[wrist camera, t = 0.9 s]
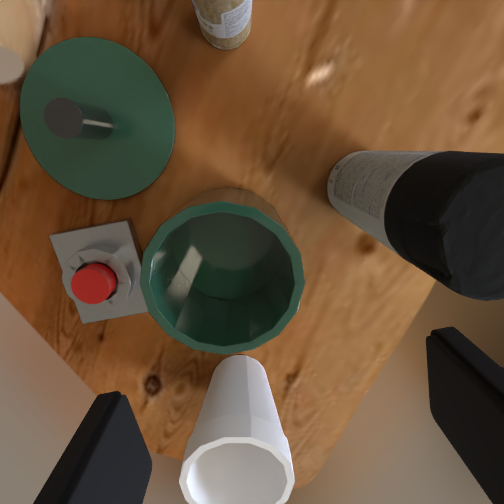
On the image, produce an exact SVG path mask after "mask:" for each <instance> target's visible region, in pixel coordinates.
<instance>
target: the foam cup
mask: <svg viewBox="0 0 504 504" xmlns="http://www.w3.org/2000/svg"><path fill="white" fill-rule="evenodd" d="M179 483H180V486H181V489H182V492H183V494H184V497H185V500H186V501H187V502H188V503H189V504H284V503H285V502H286V501H287V500H288V498H289V496H290V493H291V491H292V488H293V485H294V483H295V479H294V472H293V466H292V459H291V454H290V449H289V445H288V440H287V438H286V437H285V436H284V434H283V430H282V427H281V424H280V420H279V417H278V413H277V410H276V407H275V403H274V400H273V396H272V393H271V390H270V386H269V383H268V379H267V376H266V372H265V370H264V367H263V366H262V365H261V364H260V363H259V362H258V361H257V360H256V359H254V358H251V357H249V356H246V355H233V356H231V357H228V358H226V359H223V360H222V361H221V362H220V363H219V364H218V366H217V367H216V368H215V371H214V373H213V376H212V379H211V382H210V385H209V387H208V390H207V393H206V396H205V399H204V402H203V405H202V408H201V411H200V413H199V416H198V419H197V422H196V425H195V428H194V431H193V434H192V435H191V436H190V437H189V438H188V442H187V446H186V450H185V454H184V459H183V464H182V469H181V474H180V479H179Z"/></svg>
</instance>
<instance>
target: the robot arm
mask: <svg viewBox="0 0 504 504" xmlns="http://www.w3.org/2000/svg"><path fill="white" fill-rule="evenodd" d="M426 350H427V366H428V382H429V398H430V409H431V413H432V415H433V418H434V420H435V421H436V423H437V424H438V426H439V427H440V428H441V430H442V431H443V433H444V434H445V436H446V437H447V438H448V440H449V441H450V443H451V444H452V446H453V447H454V449H455V450H456V451H457V453H458V454H459V455H460V457H461V459H462V460H463V462H464V463H465V464H466V466H467V467H468V469H469V470H470V472H471V473H472V474H473V476H474V477H475V479H476V480H477V482H478V483H479V484H480V486H481V487H482V489H483V490H484V492H485V493H486V495H487V496H488V497H489V499H490V500H491V502H492V503H493V504H504V368H503V367H500V366H499V365H498V364H497V363H495V362H494V361H493V360H492V359H491V358H490V357H488V356H487V355H486V354H485V353H484V352H483V351H481V350H480V349H479V348H478V347H477V346H476V345H474V344H473V343H472V342H471V341H470V340H469V339H467V338H466V337H465V336H464V335H463V334H462V333H460V332H459V331H458V330H457V329H456V328H454V327H446V328H441V329H436V330H432V331H431V336H427V338H426ZM151 471H152V460H151V457H150V455H149V452H148V449H147V447H146V444H145V442H144V439H143V436H142V434H141V431H140V429H139V426H138V424H137V421H136V419H135V416H134V414H133V411H132V409H131V406H130V404H129V401H128V398H127V397H126V395H121V393H120V392H119V391H114V392H109V393H104V394H100V395H98V396H97V397H96V399H95V401H94V402H93V404H92V406H91V407H90V409H89V411H88V412H87V414H86V416H85V417H84V419H83V421H82V422H81V424H80V426H79V427H78V429H77V431H76V432H75V434H74V436H73V438H72V439H71V441H70V443H69V444H68V446H67V448H66V449H65V451H64V453H63V454H62V456H61V458H60V460H59V461H58V463H57V465H56V466H55V468H54V469H53V471H52V473H51V474H50V476H49V478H48V480H47V481H46V483H45V485H44V486H43V488H42V490H41V491H40V493H39V495H38V496H37V498H36V500H35V501H34V503H33V504H142V503H143V499H144V496H145V493H146V489H147V486H148V482H149V479H150V475H151Z"/></svg>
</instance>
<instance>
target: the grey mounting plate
mask: <svg viewBox="0 0 504 504" xmlns="http://www.w3.org/2000/svg"><path fill="white" fill-rule="evenodd" d="M49 237H50V240H51V242H52V245H53V248H54V250H55V253H56V255H57V258H58V261H59V263H60V266H61V268H62V271H63V274H62V282H63V285H64V287H65V290H66V292H67V295H68V296H69V297H70V298H72V299H73V300H74V302H75V305H76V307H77V310H78V313H79V315H80V318H81V320H82V323H83V324H84V323H90V322H95V321H101V320H106V319H112V318H118V317H123V316H129V315H134V314H140V313H145V312H148V309H147V306H146V303H145V299H144V296H143V293H142V290H141V287H140V275H141V267H142V258H143V257H142V253H141V250H140V247H139V243H138V240H137V237H136V233H135V230H134V227H133V224H132V220H131V218H129V219H124V220H119V221H114V222H108V223H103V224H98V225H93V226H88V227H82V228H77V229H72V230H67V231H62V232H56V233H54V234H51V235H49ZM91 263H100V264H103V265H105V266H107V267H108V268H110V269H111V270H112V272H113V273H114V275H115V277H116V287H115V289H114V291H113V292H112V293H111V294H110V295H109V296H108V297H107V298H106V299H105V300H104V301H103V302H101V303H98V304H87V303H84V302H82V301H80V300H79V299H78V298H77V297H76V296H75V295H74V294H73V292H72V289H71V280H72V277H73V276H74V274H75V273H77V272H78V271H79V270H80V269H82V268H83V267H85V266H86V265H88V264H91Z"/></svg>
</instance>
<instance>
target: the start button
mask: <svg viewBox="0 0 504 504" xmlns="http://www.w3.org/2000/svg"><path fill="white" fill-rule="evenodd" d="M115 287H116V277H115V275H114V273H113V272H112V270H111V269H110V268H108V267H107V266H105V265H103V264H100V263H91V264H88V265H86V266H85V267H83V268H82V269H80V270H79V271H78V272H77V273H75V274H74V276H73V277H72V280H71V289H72V292H73V294H74V295H75V296H76V297H77V298H78V299H79V300H80V301H82V302H84V303H87V304H98V303H101V302H103V301H104V300H105V299H106V298H107V297H108V296H109V295H110V294H111V293H112V292H113V291H114V289H115Z"/></svg>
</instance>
